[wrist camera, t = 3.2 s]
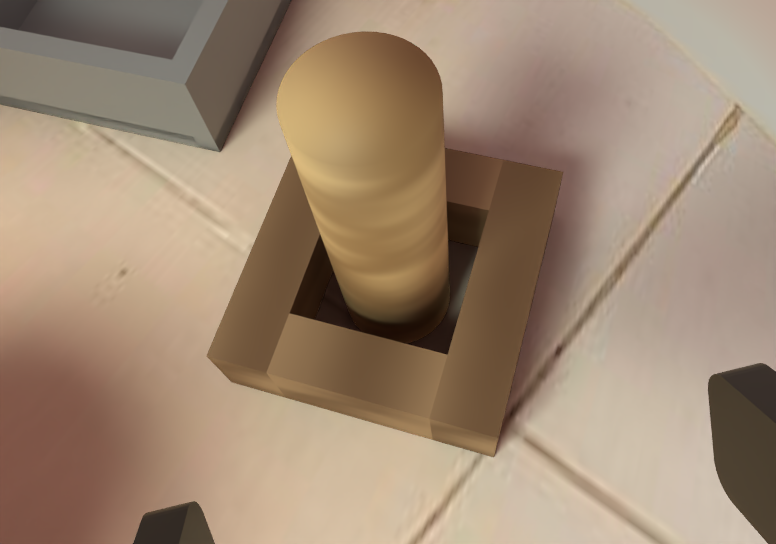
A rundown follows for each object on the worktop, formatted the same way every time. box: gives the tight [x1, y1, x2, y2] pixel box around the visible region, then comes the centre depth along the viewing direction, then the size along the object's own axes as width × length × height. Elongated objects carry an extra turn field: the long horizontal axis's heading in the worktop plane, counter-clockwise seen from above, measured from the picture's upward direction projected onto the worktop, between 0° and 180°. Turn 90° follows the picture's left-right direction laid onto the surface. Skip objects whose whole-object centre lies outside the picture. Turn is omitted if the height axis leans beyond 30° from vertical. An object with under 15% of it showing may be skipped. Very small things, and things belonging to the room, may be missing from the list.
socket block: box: [207, 148, 563, 457], centre depth 27 cm, size 10×10×3 cm
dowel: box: [276, 32, 450, 343], centre depth 23 cm, size 4×4×12 cm
